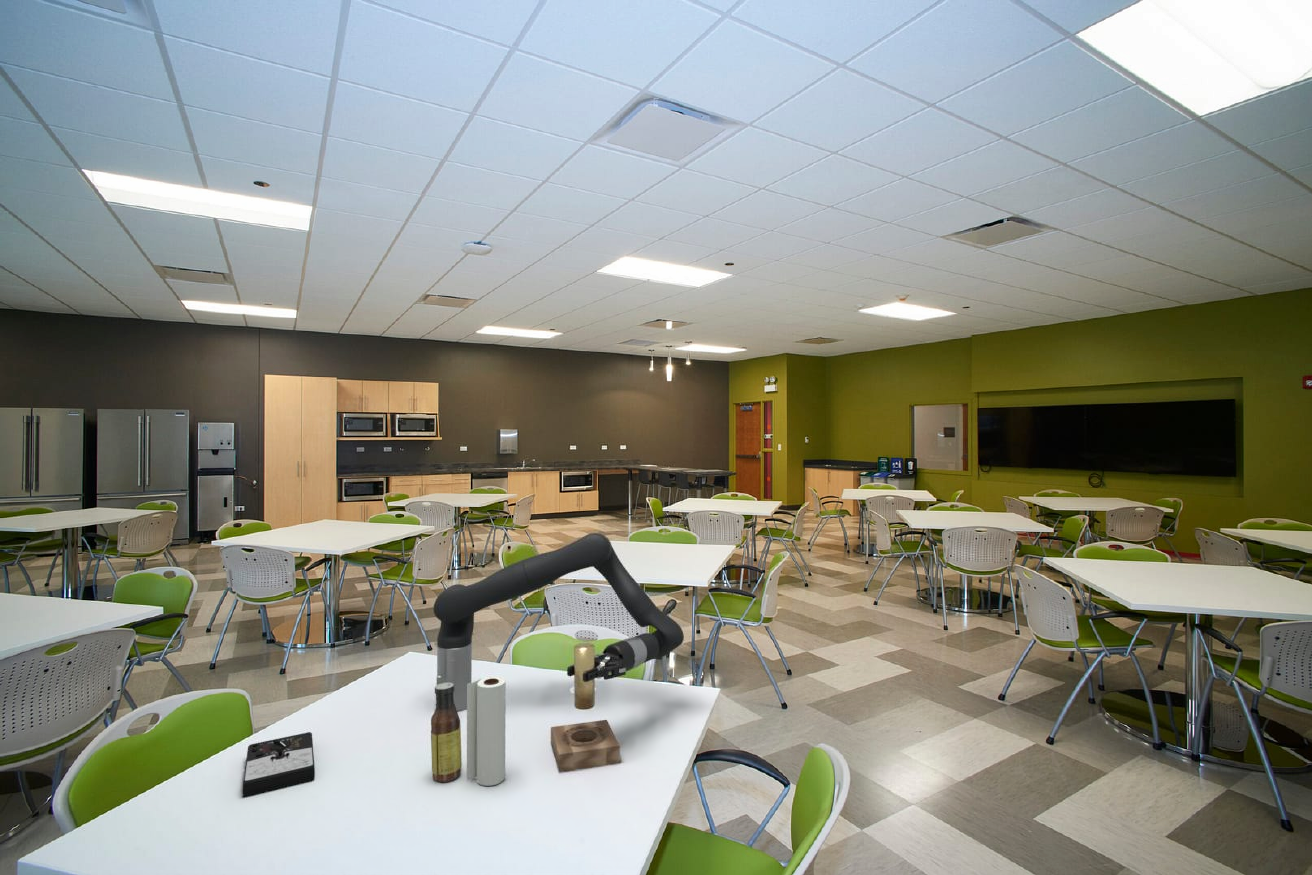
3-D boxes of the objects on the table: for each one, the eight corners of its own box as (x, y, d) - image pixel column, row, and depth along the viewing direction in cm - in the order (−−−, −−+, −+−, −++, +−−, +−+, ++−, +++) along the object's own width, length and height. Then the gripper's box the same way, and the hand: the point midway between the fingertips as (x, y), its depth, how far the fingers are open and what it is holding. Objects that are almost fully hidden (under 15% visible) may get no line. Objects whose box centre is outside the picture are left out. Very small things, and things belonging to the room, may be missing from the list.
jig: (558, 772, 137) (558, 754, 137) (550, 743, 150) (550, 726, 150) (619, 762, 141) (619, 745, 141) (606, 735, 154) (606, 719, 154)
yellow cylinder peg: (576, 710, 143) (576, 650, 143) (572, 702, 148) (572, 644, 148) (596, 707, 144) (596, 648, 144) (592, 699, 149) (592, 642, 149)
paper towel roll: (511, 775, 136) (511, 678, 136) (492, 789, 130) (493, 688, 130) (485, 768, 139) (485, 673, 139) (466, 781, 133) (466, 682, 133)
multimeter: (312, 745, 150) (312, 725, 150) (314, 782, 134) (314, 759, 134) (247, 759, 143) (247, 738, 143) (242, 800, 127) (242, 776, 127)
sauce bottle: (467, 771, 137) (467, 682, 138) (449, 785, 132) (449, 692, 132) (443, 766, 140) (443, 678, 140) (424, 780, 134) (424, 688, 134)
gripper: (605, 634, 162) (555, 652, 148) (646, 646, 152) (597, 665, 139) (605, 663, 162) (555, 683, 148) (646, 676, 152) (597, 698, 139)
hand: (576, 674), depth 144 cm, fingers closed on yellow cylinder peg, 4 cm apart
